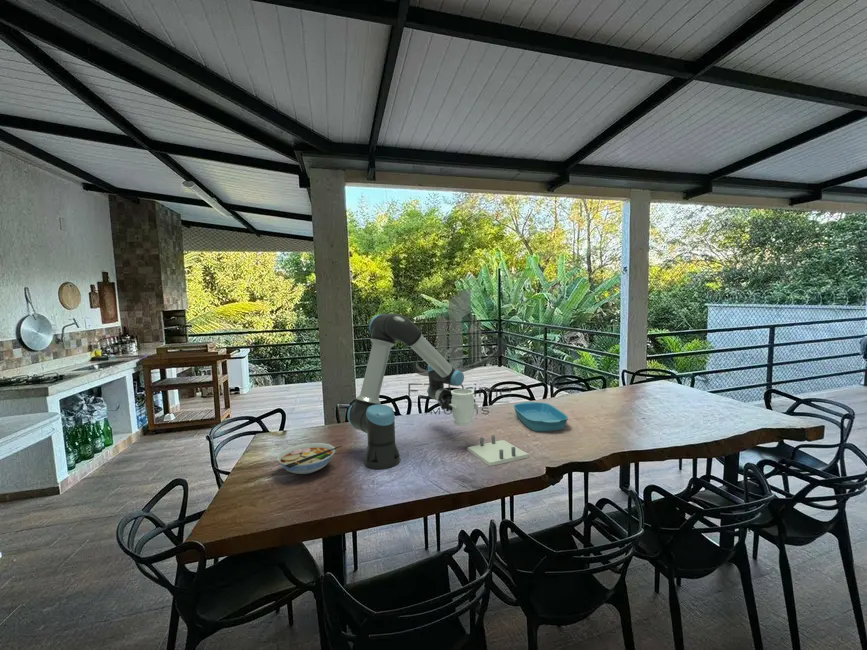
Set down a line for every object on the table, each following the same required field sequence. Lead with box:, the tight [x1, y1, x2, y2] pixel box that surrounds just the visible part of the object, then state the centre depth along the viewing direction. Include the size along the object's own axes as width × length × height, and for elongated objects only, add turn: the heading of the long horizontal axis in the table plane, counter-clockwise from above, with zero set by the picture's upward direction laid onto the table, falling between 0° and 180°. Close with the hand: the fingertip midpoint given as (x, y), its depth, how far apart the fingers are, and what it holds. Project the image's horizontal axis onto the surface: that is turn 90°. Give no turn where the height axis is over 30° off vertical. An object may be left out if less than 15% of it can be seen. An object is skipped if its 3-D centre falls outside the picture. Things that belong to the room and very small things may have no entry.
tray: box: [467, 434, 529, 467], centre depth 168 cm, size 19×19×5 cm
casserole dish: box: [513, 401, 569, 433], centre depth 208 cm, size 37×22×7 cm, turn 6°
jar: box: [450, 388, 475, 427], centre depth 176 cm, size 11×10×15 cm
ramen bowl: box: [276, 442, 342, 475], centre depth 158 cm, size 25×23×8 cm
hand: (467, 408), depth 172 cm, fingers closed on jar, 10 cm apart
